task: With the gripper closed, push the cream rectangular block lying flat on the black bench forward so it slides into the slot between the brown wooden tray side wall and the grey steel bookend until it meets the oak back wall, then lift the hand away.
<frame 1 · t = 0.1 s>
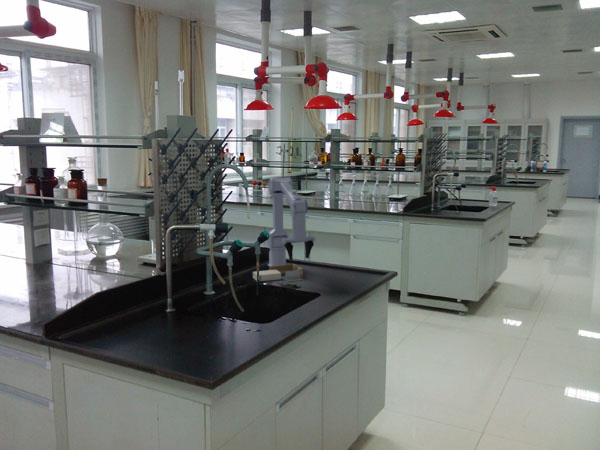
hand: (299, 258, 227), 10 cm above the countertop, tool pointing down, fingers open, 7 cm apart
bookend: (292, 278, 232), on the countertop
brown wooden tray: (292, 275, 237), on the countertop
cream rectangular block: (267, 278, 233), on the countertop
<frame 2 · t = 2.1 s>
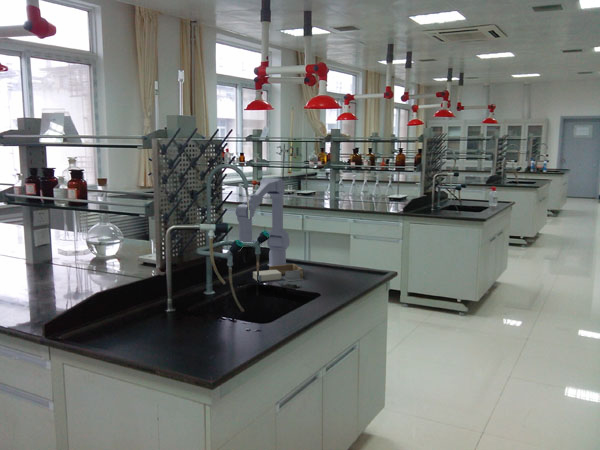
hand: (246, 262, 228), 8 cm above the countertop, tool pointing down, fingers closed
nothing on the countertop moved.
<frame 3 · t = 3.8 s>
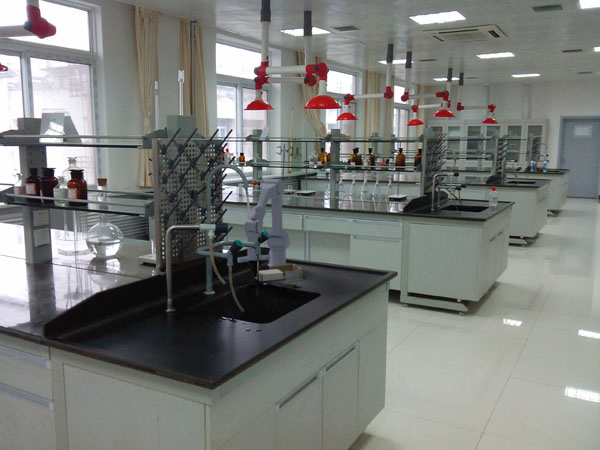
hand: (254, 276, 231), 1 cm above the countertop, tool pointing down, fingers closed
cream rectangular block: (268, 278, 233), on the countertop, touching gripper
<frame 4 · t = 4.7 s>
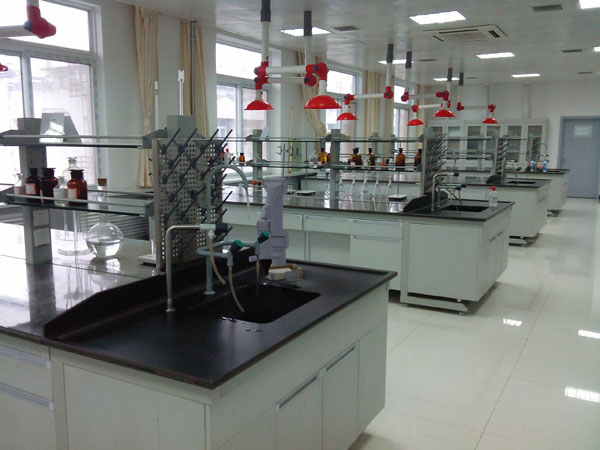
hand: (265, 275, 232), 1 cm above the countertop, tool pointing down, fingers closed
cream rectangular block: (279, 277, 235), on the countertop, touching gripper
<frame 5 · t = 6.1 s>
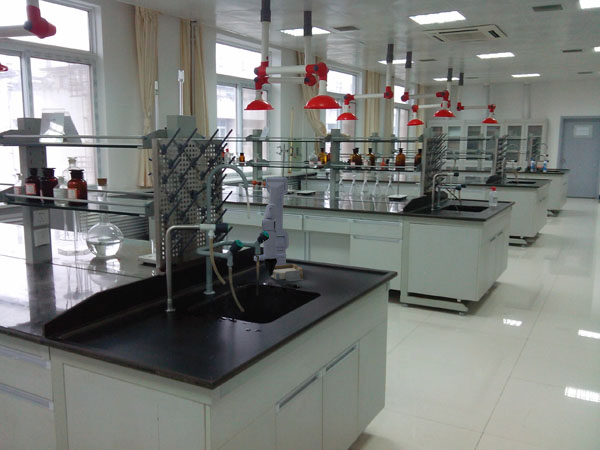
hand: (270, 275, 233), 1 cm above the countertop, tool pointing down, fingers closed
cream rectangular block: (284, 277, 236), on the countertop
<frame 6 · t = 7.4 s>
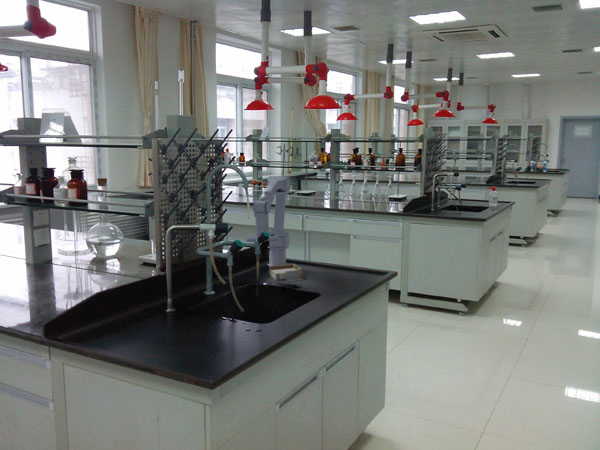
hand: (262, 257, 232), 9 cm above the countertop, tool pointing down, fingers closed
nothing on the countertop moved.
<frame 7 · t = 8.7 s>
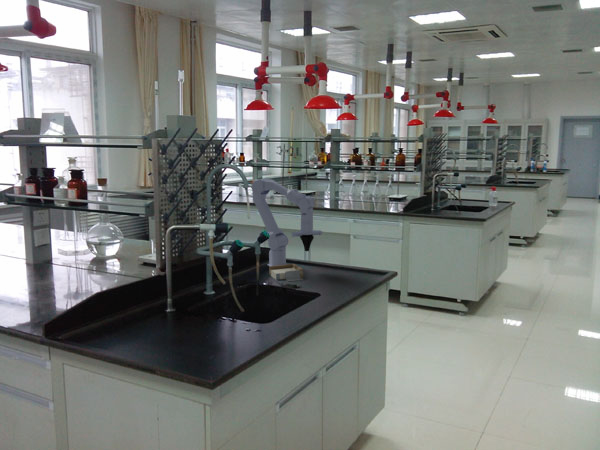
hand: (306, 250, 245), 9 cm above the countertop, tool pointing down, fingers closed
nothing on the countertop moved.
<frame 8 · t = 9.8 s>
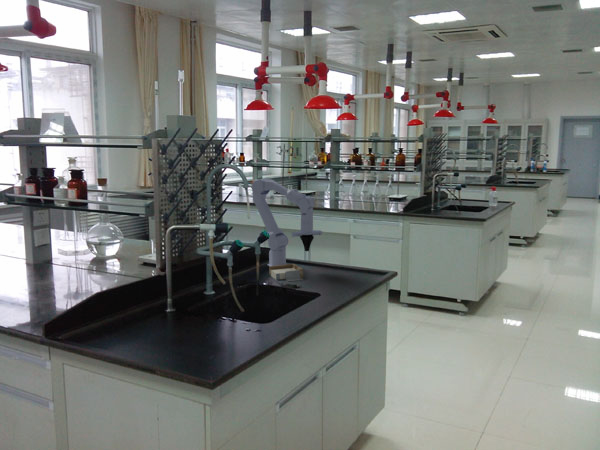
hand: (306, 250, 245), 9 cm above the countertop, tool pointing down, fingers closed
nothing on the countertop moved.
at the end: cream rectangular block 0.5 cm from the target spot, on the countertop; cream rectangular block tilted 0° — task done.
